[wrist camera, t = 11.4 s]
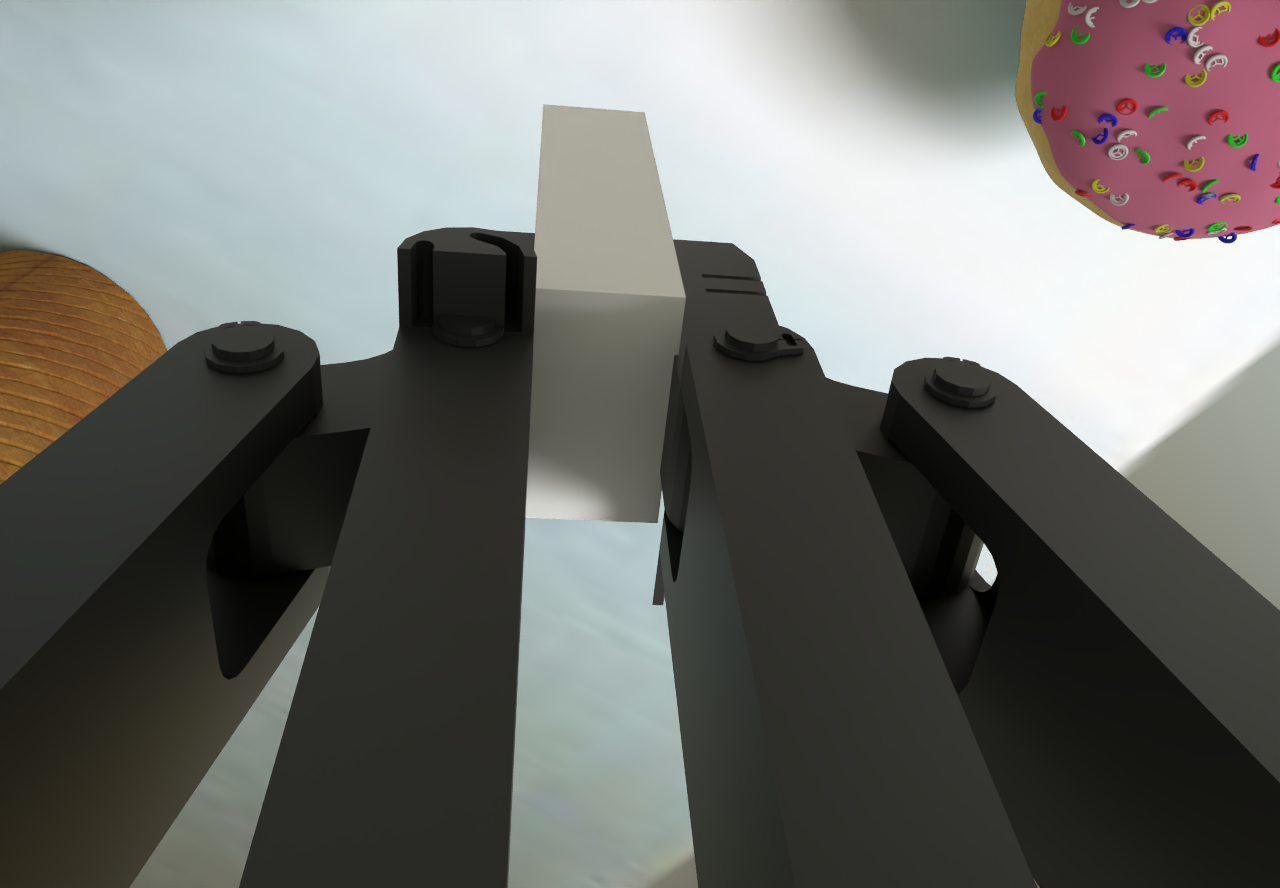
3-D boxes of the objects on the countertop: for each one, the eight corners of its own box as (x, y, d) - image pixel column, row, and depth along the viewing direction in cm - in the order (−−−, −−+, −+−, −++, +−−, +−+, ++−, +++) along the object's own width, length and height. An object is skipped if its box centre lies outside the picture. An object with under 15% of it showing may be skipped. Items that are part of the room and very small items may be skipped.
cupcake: (989, -210, 23) (1280, -183, 13) (1386, -232, 23) (1989, -223, 13) (947, 180, 28) (1138, 423, 18) (1279, 162, 28) (1662, 396, 18)
